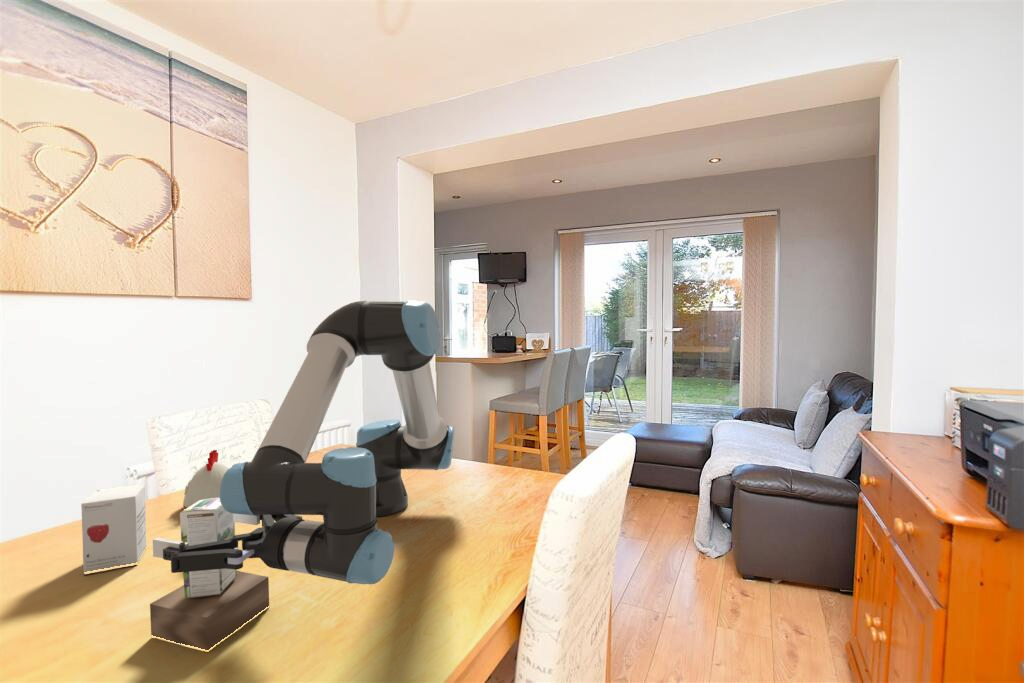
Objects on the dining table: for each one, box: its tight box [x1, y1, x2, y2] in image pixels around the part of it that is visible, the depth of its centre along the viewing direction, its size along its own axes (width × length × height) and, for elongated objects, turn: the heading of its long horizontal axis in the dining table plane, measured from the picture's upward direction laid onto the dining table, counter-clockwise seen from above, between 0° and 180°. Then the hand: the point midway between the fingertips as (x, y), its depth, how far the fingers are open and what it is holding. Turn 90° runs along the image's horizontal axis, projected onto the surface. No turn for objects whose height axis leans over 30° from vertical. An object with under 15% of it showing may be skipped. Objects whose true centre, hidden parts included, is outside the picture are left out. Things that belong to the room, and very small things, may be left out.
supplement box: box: [81, 483, 147, 573], centre depth 100 cm, size 9×9×15 cm
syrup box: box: [179, 498, 238, 598], centre depth 80 cm, size 6×6×14 cm
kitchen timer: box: [182, 449, 229, 509], centre depth 131 cm, size 14×14×15 cm
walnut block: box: [149, 570, 270, 650], centre depth 80 cm, size 12×12×6 cm
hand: (195, 528), depth 80 cm, fingers open, 13 cm apart
